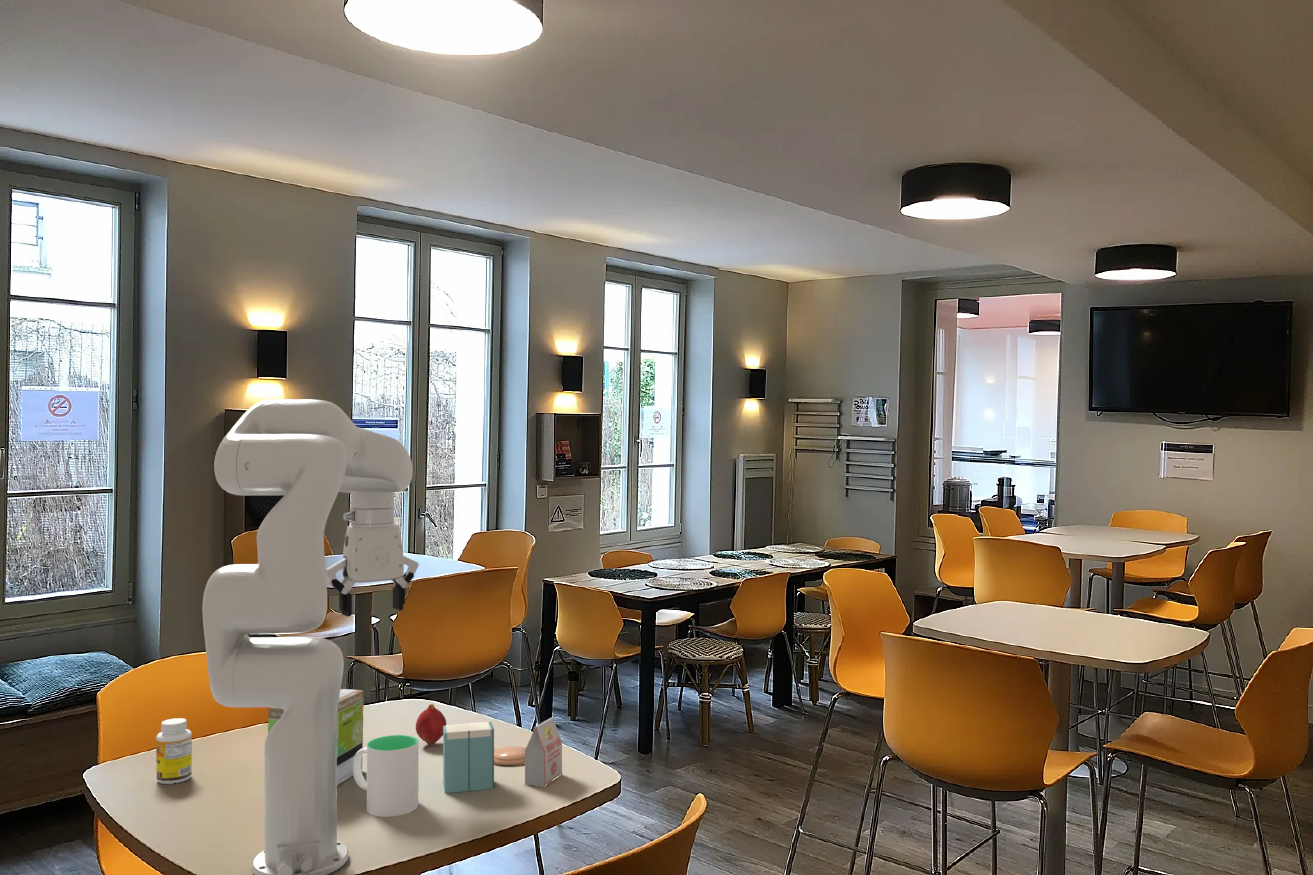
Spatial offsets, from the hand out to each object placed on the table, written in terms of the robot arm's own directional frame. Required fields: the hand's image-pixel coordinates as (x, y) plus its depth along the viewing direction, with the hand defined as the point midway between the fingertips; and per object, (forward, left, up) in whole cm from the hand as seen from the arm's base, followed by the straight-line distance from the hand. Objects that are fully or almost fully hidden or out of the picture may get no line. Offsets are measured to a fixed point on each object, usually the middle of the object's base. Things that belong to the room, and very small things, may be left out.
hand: (372, 612), depth 180 cm
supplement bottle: (+2, +33, -28) cm, 44 cm away
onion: (+10, -11, -28) cm, 32 cm away
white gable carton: (-15, -29, -28) cm, 43 cm away
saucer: (-2, -25, -28) cm, 37 cm away
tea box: (-6, +9, -28) cm, 30 cm away
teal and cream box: (-15, -16, -28) cm, 35 cm away
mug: (-20, -2, -28) cm, 35 cm away
